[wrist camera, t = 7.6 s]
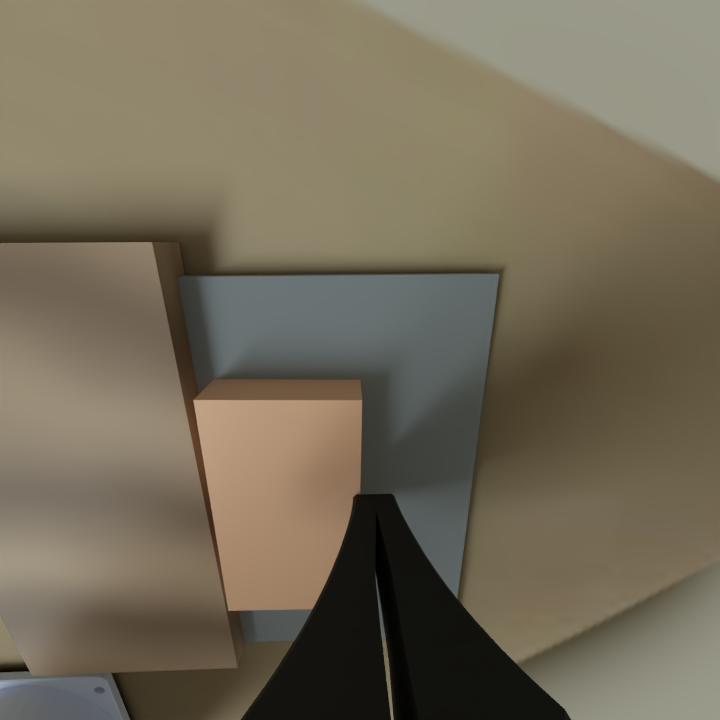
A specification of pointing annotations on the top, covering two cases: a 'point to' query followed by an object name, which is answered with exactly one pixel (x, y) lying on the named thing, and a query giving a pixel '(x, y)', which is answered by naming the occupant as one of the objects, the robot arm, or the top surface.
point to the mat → (366, 383)
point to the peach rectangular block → (279, 483)
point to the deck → (104, 467)
